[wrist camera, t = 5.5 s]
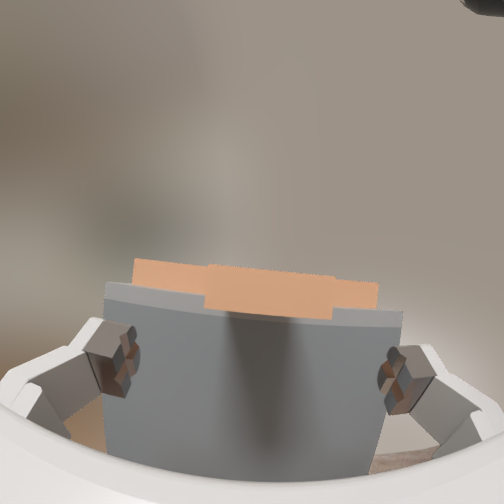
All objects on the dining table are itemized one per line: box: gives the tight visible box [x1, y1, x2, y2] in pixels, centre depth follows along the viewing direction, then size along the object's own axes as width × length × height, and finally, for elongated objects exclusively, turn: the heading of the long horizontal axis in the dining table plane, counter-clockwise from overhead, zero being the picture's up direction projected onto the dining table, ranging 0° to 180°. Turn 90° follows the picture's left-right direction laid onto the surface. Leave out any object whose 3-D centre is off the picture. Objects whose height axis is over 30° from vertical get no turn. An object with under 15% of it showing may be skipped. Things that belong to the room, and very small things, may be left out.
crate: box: [102, 282, 403, 482], centre depth 22 cm, size 18×16×26 cm
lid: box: [132, 258, 378, 320], centre depth 19 cm, size 17×23×2 cm
